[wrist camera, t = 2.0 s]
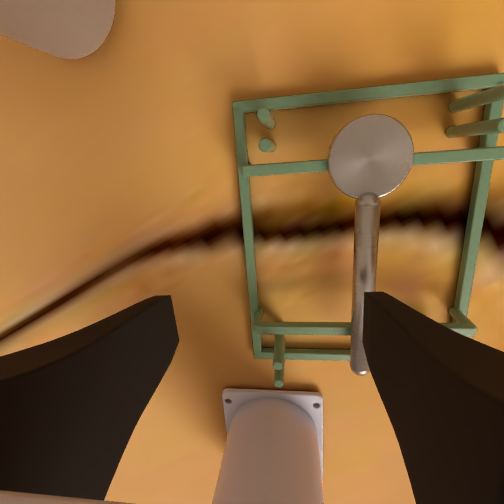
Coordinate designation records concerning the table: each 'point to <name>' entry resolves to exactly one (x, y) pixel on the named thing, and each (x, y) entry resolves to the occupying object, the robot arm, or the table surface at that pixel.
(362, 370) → the spoon
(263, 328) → the rack
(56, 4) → the beverage can
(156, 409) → the table surface
